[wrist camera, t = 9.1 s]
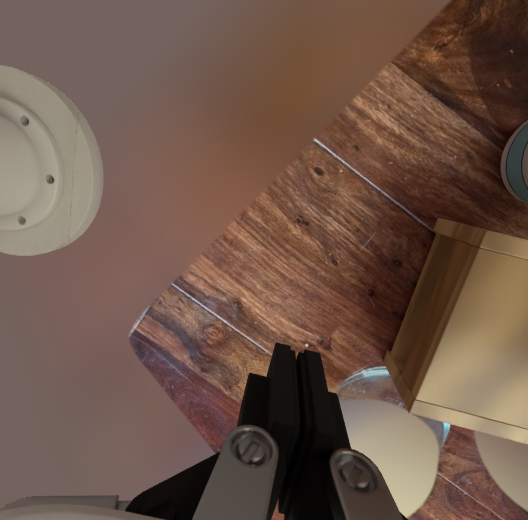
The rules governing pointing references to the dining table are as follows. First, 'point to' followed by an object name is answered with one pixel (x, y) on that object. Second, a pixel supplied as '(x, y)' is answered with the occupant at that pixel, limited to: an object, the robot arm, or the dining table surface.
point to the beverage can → (516, 164)
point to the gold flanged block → (467, 333)
